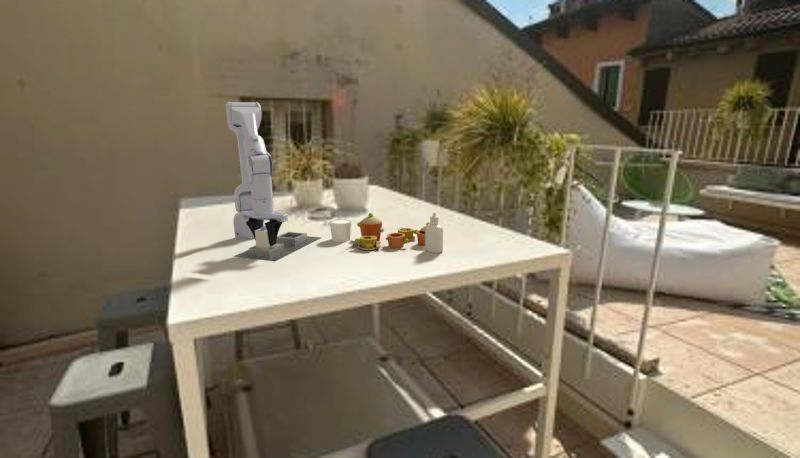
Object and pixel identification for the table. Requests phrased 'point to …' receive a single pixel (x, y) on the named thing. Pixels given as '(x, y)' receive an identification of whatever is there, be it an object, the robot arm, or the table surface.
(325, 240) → the table surface
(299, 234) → the panel
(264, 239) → the plug
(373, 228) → the toy tea set
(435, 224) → the eye dropper bottle
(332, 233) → the white cylinder
